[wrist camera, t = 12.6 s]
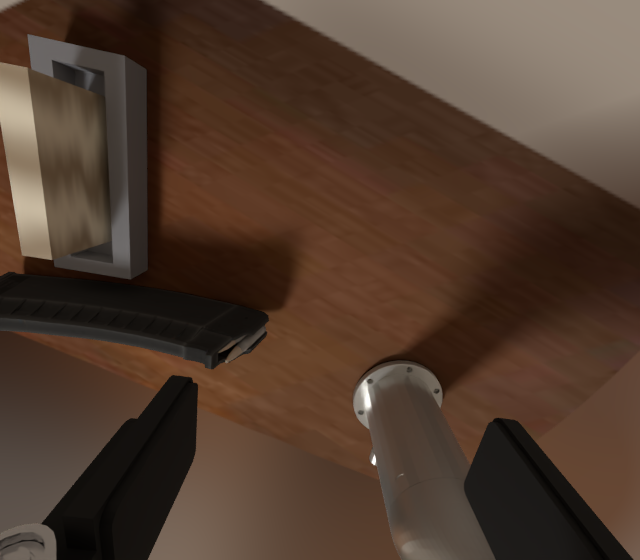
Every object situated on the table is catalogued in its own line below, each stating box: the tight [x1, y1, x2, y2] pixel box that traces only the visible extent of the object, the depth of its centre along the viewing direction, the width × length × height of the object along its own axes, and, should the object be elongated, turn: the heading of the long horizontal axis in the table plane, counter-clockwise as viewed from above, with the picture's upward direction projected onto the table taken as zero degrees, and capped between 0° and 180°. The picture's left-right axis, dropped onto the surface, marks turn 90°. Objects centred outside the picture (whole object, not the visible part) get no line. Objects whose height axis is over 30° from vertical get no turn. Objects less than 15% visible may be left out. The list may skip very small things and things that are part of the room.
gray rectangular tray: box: [28, 34, 148, 279], centre depth 30 cm, size 21×8×4 cm, turn 169°
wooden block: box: [0, 62, 112, 260], centre depth 27 cm, size 14×3×9 cm, turn 170°
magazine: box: [0, 272, 269, 369], centre depth 32 cm, size 17×3×30 cm
